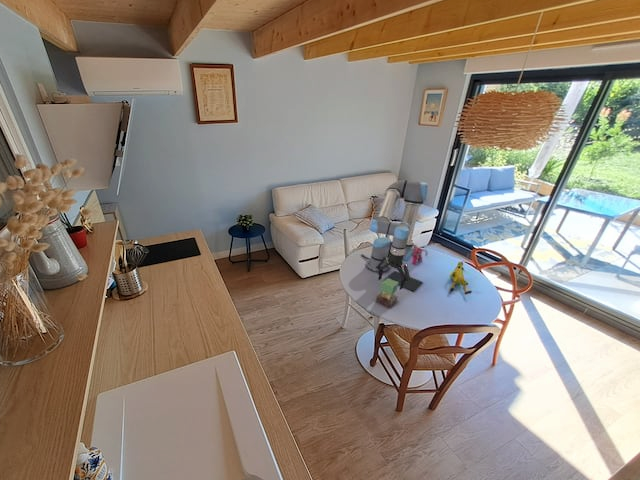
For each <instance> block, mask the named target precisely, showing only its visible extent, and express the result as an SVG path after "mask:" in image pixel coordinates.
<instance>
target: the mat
mask: <svg viewBox="0 0 640 480" xmlns="http://www.w3.org/2000/svg"><path fill="white" fill-rule="evenodd" d="M387 278H389V279H392V280H394V281H396V282H399V283H398V287H400V285H401V281H402V277H401V275H400V273H399V271H395V270H394V271H393V272H392V273H391V274H389V275H388V276H387V277H385V278H384V279H385V280H386V279H387ZM385 280H384V281H385ZM422 284H423V282H422V281H421V280H418V279H416V278H413V277H411V276H410V280H409V281H406V284H405V285H403V288H404V289H407V290H409V291H411V292H415V291H416V290H417V289H418V288H419V287H420V286H421V285H422Z"/></svg>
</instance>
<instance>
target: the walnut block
mask: <svg viewBox="0 0 640 480" xmlns="http://www.w3.org/2000/svg"><path fill="white" fill-rule="evenodd" d="M382 293H383V291H381V292H380V293H379V294H378V295H377V296H376V299H375V302H376V303H378V304H380V305H382V306H384V307H387V309H390V308H391V307H393V306H394V305H395V303H396V302H397V301H398V295H395V294H393V297H392V298H391V299H390V300H388V299H386V298H384V297H382Z"/></svg>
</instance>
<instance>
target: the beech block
mask: <svg viewBox="0 0 640 480" xmlns="http://www.w3.org/2000/svg"><path fill="white" fill-rule="evenodd" d="M382 292H383V291H382ZM382 292H381V293H382ZM393 295H394V294H392V295H389V294H387V293H385V292H383V293H382V297H384V298H386V299H388V300H390V299H391V298H392V297H393Z"/></svg>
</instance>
